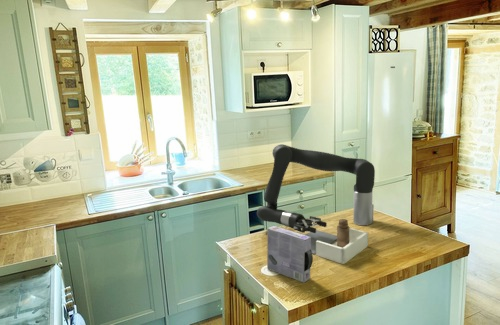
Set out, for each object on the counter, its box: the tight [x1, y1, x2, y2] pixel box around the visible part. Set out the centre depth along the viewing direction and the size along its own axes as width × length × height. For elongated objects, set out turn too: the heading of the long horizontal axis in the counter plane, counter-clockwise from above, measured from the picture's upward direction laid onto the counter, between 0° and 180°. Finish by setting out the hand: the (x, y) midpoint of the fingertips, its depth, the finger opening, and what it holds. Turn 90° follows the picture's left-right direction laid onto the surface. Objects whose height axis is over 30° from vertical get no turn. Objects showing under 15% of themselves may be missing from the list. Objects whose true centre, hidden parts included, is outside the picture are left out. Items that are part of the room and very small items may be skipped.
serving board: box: [305, 229, 337, 256], centre depth 173 cm, size 22×14×1 cm, turn 137°
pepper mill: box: [336, 218, 351, 248], centre depth 162 cm, size 5×5×14 cm
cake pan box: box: [266, 225, 314, 284], centre depth 145 cm, size 19×5×18 cm, turn 48°
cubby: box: [315, 227, 369, 265], centre depth 163 cm, size 21×13×7 cm, turn 137°
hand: (321, 227), depth 169 cm, fingers open, 8 cm apart
